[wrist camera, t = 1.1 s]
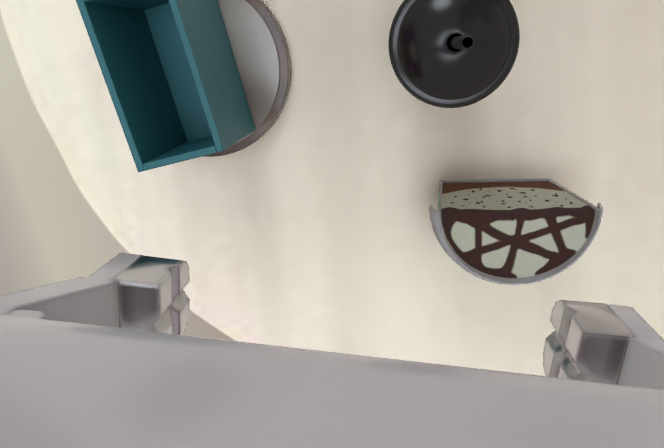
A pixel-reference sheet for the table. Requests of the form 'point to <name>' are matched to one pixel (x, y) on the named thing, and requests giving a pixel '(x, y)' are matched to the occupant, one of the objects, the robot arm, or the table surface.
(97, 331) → the robot arm
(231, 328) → the table surface
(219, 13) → the bin
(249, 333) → the table surface
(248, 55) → the disc
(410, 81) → the drinking cup
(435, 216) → the food container
